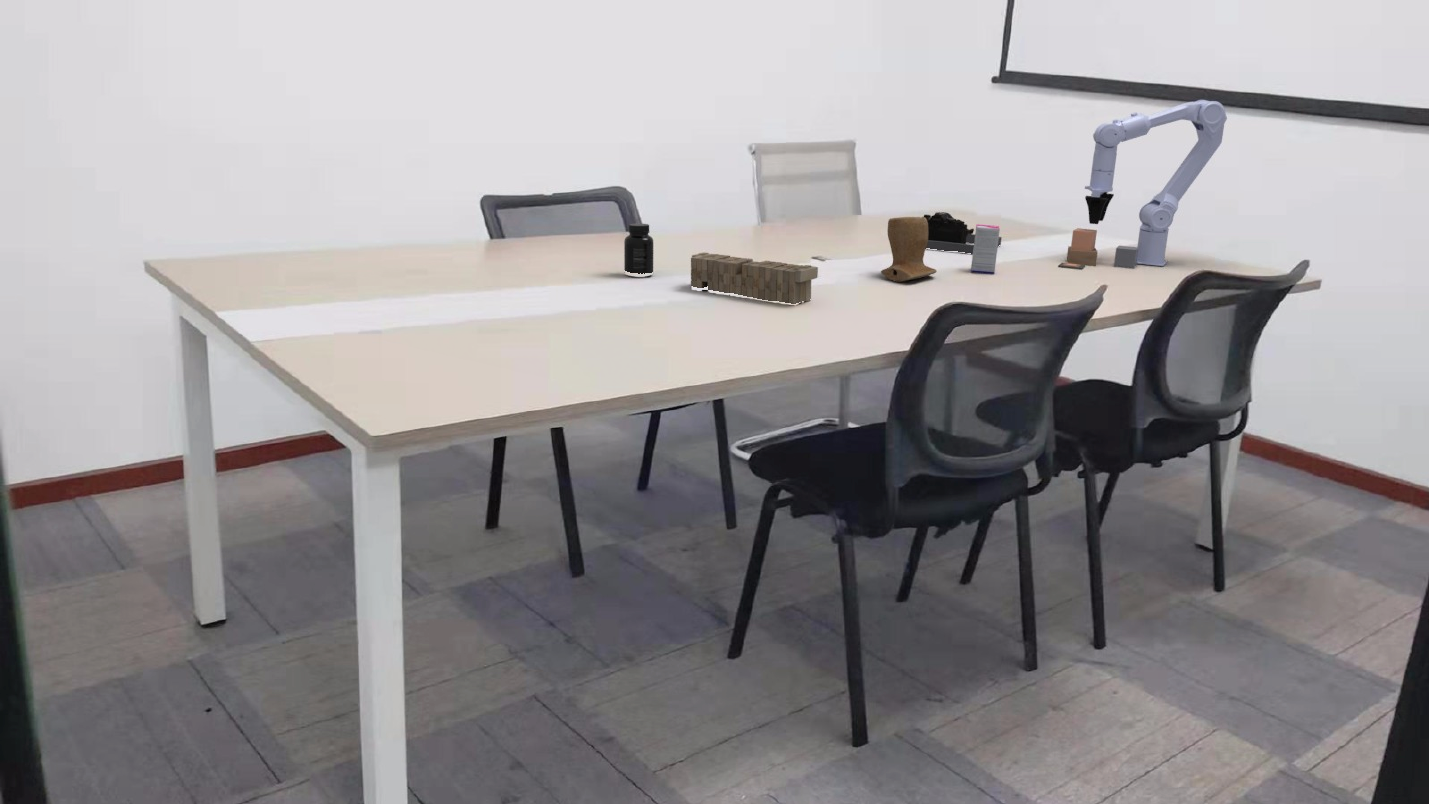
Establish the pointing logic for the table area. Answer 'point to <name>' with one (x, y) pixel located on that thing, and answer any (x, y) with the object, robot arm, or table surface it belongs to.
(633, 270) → the supplement bottle
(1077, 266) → the card
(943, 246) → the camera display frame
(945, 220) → the film camera
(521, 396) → the table surface
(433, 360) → the table surface
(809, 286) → the block tower
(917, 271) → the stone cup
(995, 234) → the supplement box
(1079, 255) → the walnut block
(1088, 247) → the terracotta cube
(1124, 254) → the charcoal cube
